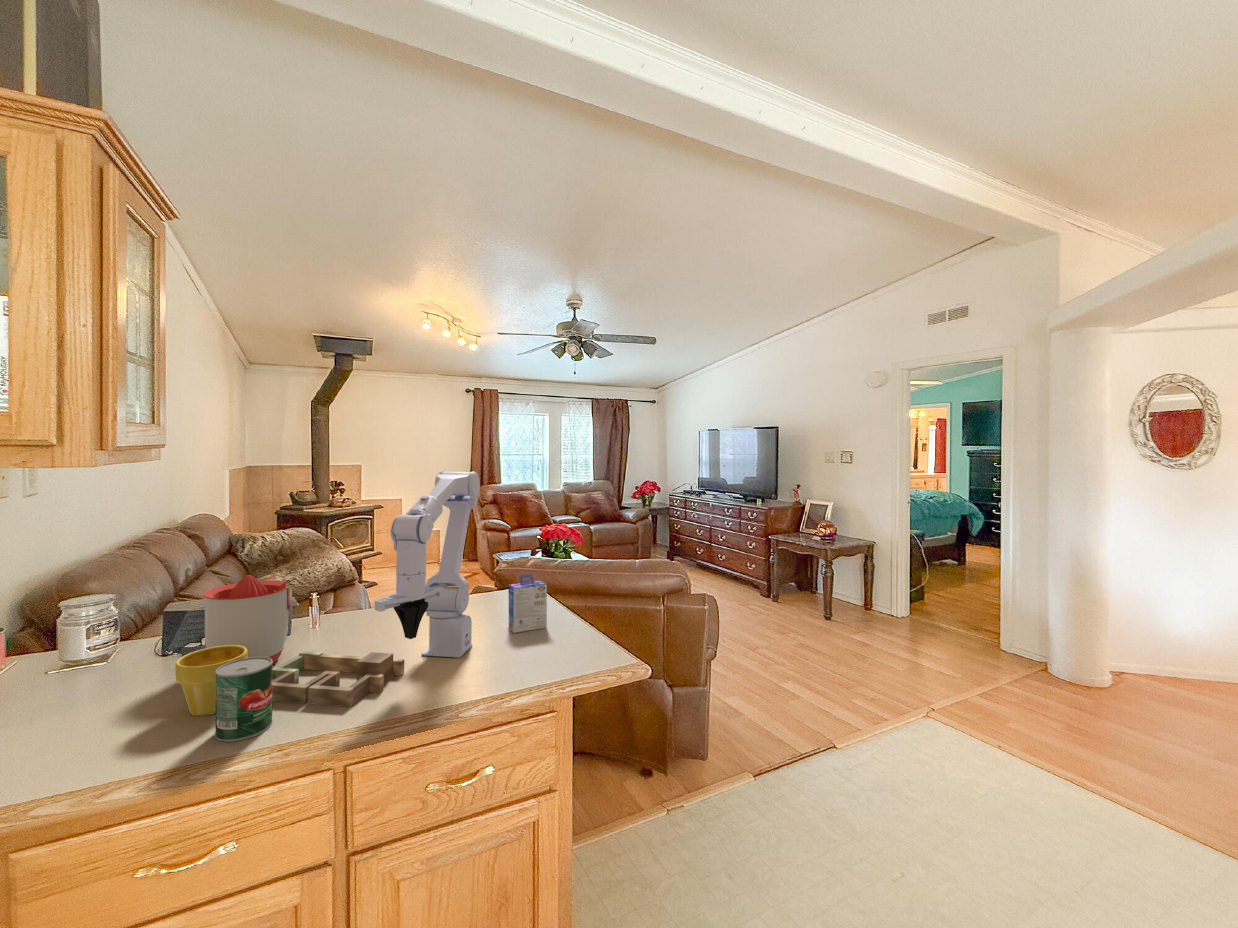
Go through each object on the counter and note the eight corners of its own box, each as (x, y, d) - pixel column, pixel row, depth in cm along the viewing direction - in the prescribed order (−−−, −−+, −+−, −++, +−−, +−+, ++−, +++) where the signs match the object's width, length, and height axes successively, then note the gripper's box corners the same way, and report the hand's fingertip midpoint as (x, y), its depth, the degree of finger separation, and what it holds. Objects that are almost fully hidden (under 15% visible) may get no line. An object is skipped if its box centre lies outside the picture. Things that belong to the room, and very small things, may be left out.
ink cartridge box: (540, 622, 144) (541, 571, 144) (547, 628, 139) (548, 575, 139) (506, 627, 139) (507, 575, 139) (513, 633, 134) (514, 579, 134)
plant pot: (188, 727, 86) (188, 671, 86) (166, 710, 92) (166, 657, 92) (257, 703, 95) (257, 651, 95) (233, 689, 100) (233, 640, 100)
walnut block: (393, 676, 108) (393, 653, 108) (379, 687, 103) (379, 662, 103) (371, 675, 108) (371, 652, 108) (356, 685, 103) (356, 661, 103)
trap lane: (404, 672, 109) (404, 657, 109) (361, 707, 94) (361, 689, 94) (302, 666, 112) (303, 651, 112) (245, 698, 97) (245, 681, 97)
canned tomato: (225, 721, 88) (225, 659, 88) (277, 714, 91) (278, 653, 91) (206, 746, 81) (207, 678, 81) (264, 737, 84) (264, 671, 84)
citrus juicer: (302, 664, 113) (303, 575, 112) (202, 686, 102) (202, 587, 101) (294, 643, 125) (294, 563, 124) (203, 660, 114) (203, 572, 114)
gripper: (429, 563, 113) (429, 624, 113) (366, 575, 101) (366, 643, 101) (449, 568, 109) (449, 630, 109) (386, 581, 97) (385, 651, 97)
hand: (410, 637), depth 105 cm, fingers closed
